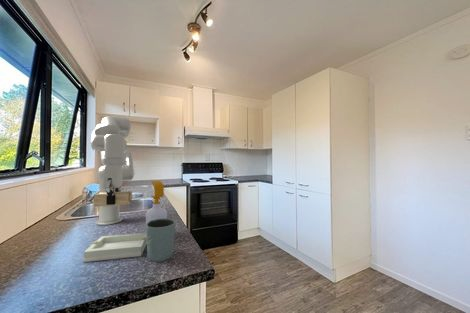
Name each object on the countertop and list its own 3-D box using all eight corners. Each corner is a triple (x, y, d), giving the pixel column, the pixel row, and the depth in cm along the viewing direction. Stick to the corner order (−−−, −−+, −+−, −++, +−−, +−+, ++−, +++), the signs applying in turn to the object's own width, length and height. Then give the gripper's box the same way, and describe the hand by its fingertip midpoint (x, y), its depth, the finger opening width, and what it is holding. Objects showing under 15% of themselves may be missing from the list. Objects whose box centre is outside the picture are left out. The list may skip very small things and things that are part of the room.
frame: (100, 203, 89) (100, 192, 89) (131, 202, 92) (131, 191, 92) (93, 206, 83) (94, 194, 83) (127, 204, 86) (128, 193, 86)
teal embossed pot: (161, 247, 78) (161, 216, 78) (181, 252, 73) (181, 220, 74) (138, 259, 69) (139, 224, 69) (160, 265, 64) (160, 228, 64)
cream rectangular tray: (101, 243, 81) (101, 234, 81) (148, 239, 85) (148, 231, 85) (82, 262, 67) (83, 251, 67) (140, 255, 71) (141, 245, 71)
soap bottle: (161, 229, 98) (161, 179, 98) (170, 234, 91) (170, 181, 91) (142, 234, 91) (143, 181, 92) (150, 240, 85) (150, 182, 85)
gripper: (112, 162, 95) (111, 199, 95) (95, 162, 78) (95, 207, 78) (129, 162, 97) (128, 198, 97) (116, 162, 80) (116, 206, 80)
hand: (113, 202), depth 87 cm, fingers closed on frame, 6 cm apart
